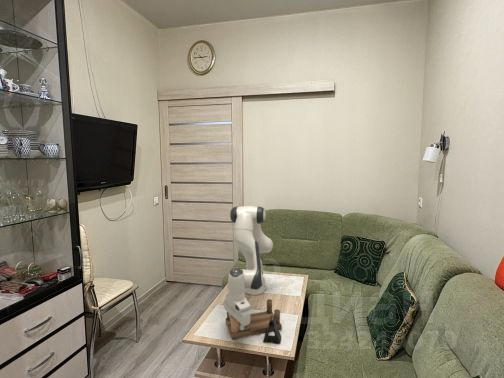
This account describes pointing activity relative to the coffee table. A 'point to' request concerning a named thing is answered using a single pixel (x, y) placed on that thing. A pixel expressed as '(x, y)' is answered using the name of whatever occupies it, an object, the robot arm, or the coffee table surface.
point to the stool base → (257, 322)
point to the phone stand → (277, 337)
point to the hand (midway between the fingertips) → (236, 325)
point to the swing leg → (237, 325)
